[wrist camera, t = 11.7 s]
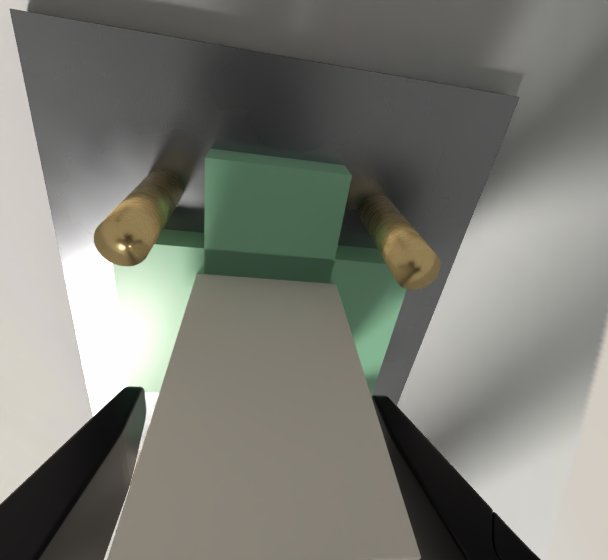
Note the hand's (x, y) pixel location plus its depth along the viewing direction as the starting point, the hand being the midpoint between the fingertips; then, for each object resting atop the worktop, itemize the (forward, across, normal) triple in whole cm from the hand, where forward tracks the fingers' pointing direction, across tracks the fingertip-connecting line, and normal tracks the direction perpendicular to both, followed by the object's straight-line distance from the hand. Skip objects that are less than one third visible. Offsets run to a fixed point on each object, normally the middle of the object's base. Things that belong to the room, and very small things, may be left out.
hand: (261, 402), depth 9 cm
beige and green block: (+4, 0, 0) cm, 4 cm away
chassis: (+4, 0, 0) cm, 4 cm away
